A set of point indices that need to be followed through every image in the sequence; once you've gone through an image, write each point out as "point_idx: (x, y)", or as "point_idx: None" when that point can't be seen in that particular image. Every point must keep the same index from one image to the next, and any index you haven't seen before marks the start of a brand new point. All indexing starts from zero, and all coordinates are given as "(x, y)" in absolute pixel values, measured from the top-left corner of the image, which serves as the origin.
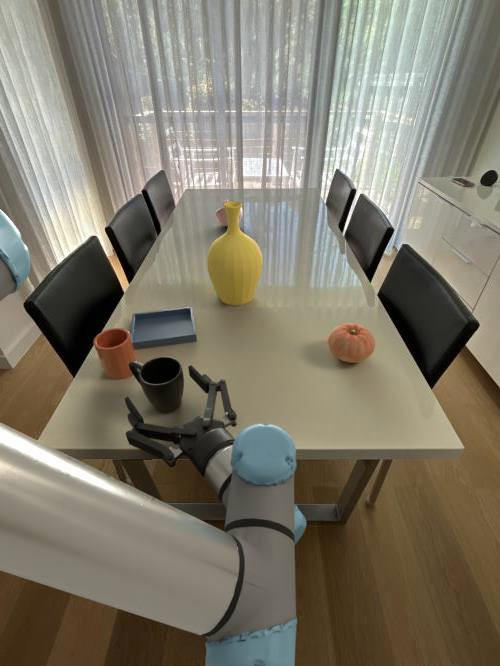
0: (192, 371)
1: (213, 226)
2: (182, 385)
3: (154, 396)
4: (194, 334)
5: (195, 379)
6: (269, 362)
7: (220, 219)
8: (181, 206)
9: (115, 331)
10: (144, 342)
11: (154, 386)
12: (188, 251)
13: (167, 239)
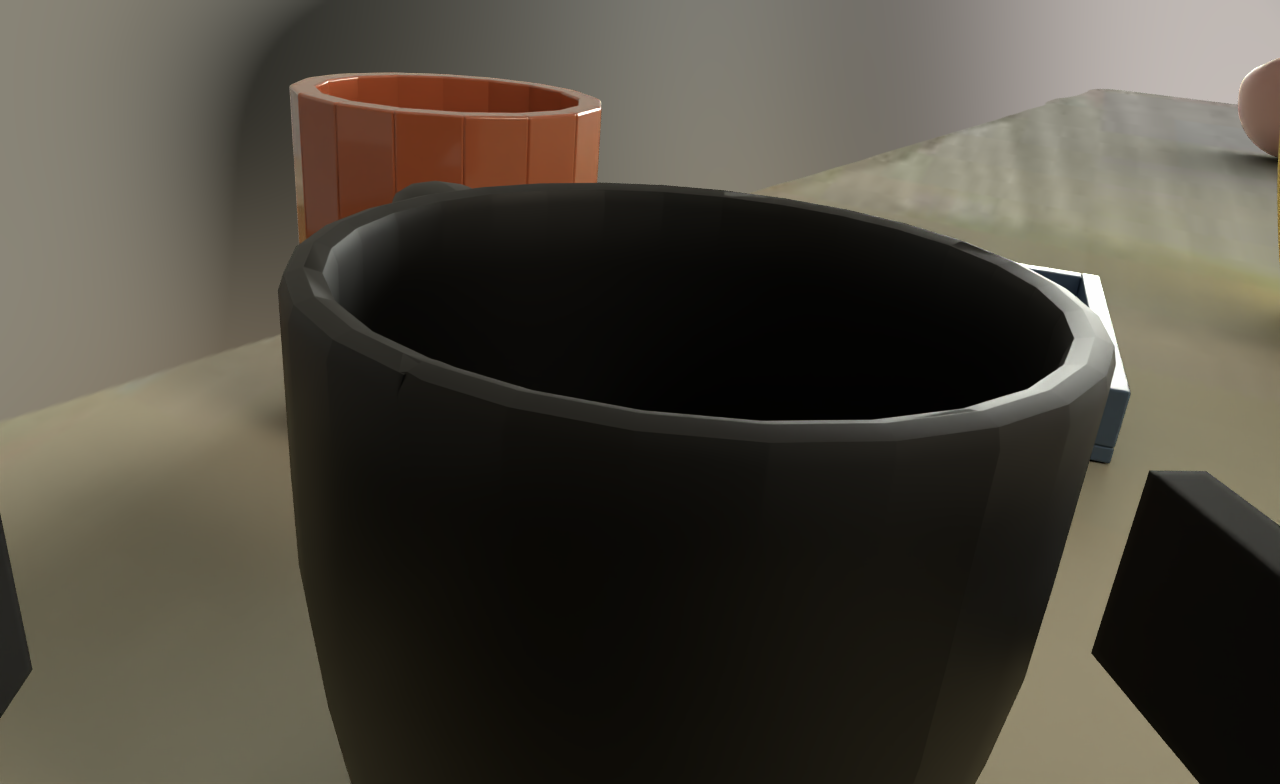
0: (1241, 560)
1: (1205, 149)
2: (992, 723)
3: (366, 666)
4: (1115, 389)
5: (1244, 738)
6: None
7: (1263, 108)
8: (1057, 101)
9: (517, 103)
10: None
11: (393, 392)
12: (1076, 170)
13: (981, 135)
